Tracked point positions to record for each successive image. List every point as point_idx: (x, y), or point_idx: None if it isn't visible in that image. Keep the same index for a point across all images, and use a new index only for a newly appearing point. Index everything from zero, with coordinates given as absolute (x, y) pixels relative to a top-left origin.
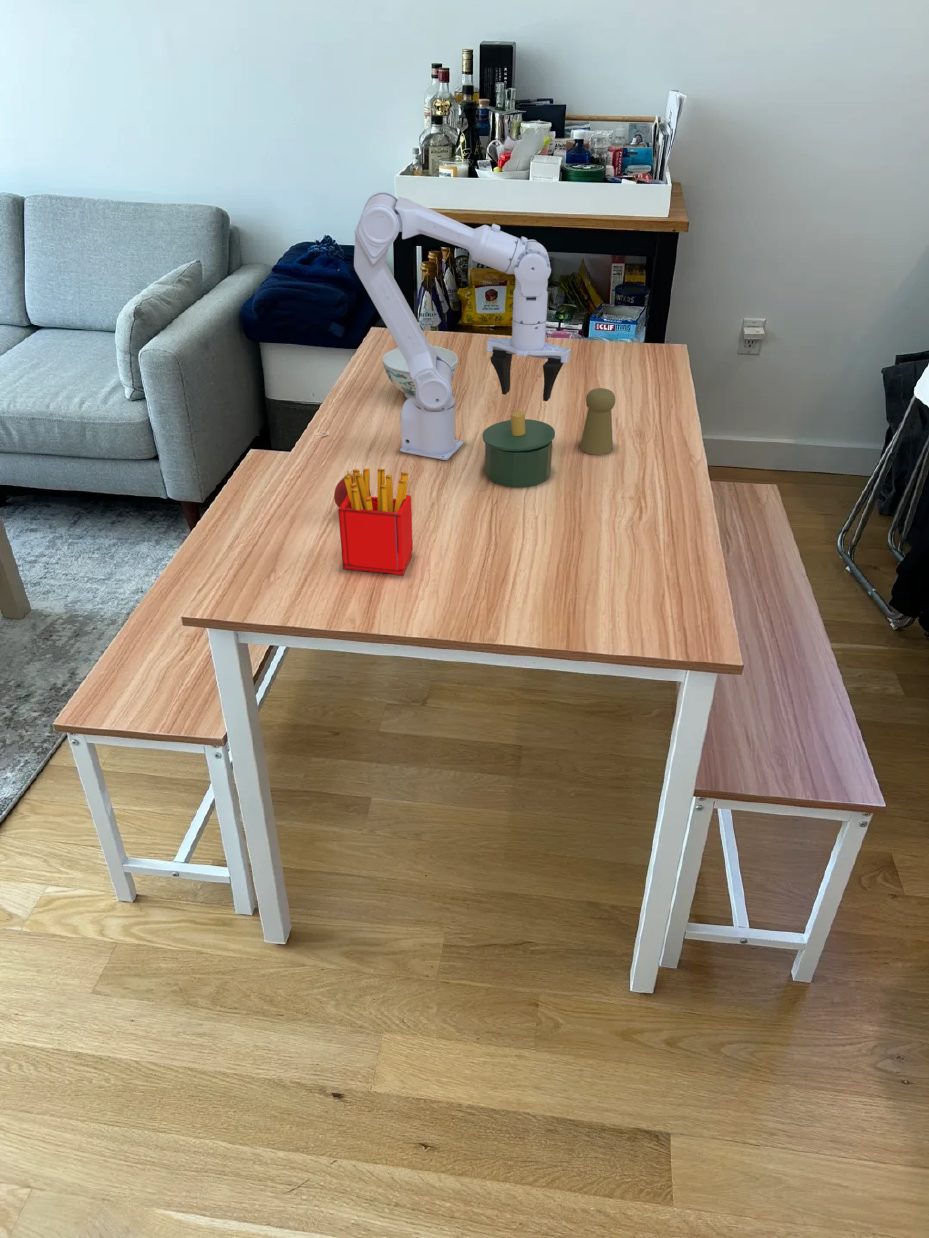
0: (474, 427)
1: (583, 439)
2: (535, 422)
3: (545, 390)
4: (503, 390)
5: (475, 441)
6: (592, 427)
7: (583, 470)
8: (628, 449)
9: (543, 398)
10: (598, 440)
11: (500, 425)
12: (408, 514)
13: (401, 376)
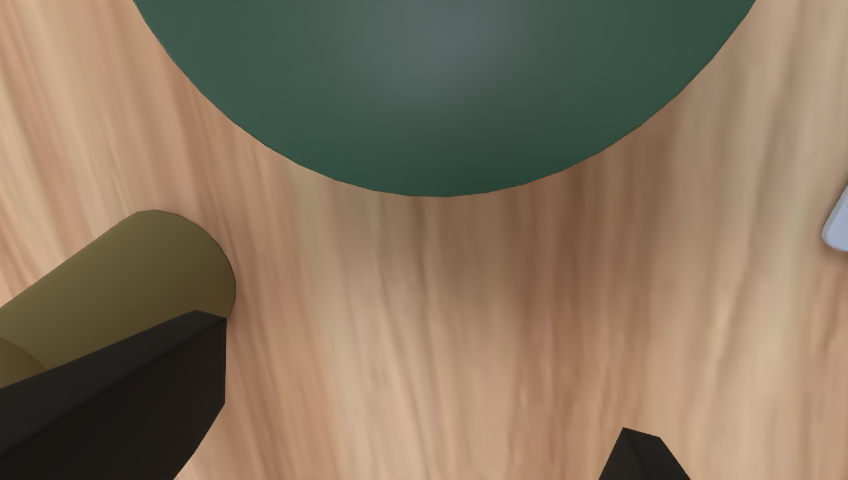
0: (740, 421)
1: (187, 274)
2: (317, 128)
3: (109, 364)
4: (661, 464)
5: (738, 278)
6: (88, 285)
7: (153, 38)
8: None
9: (204, 325)
10: (101, 244)
11: (629, 47)
12: None
13: None
